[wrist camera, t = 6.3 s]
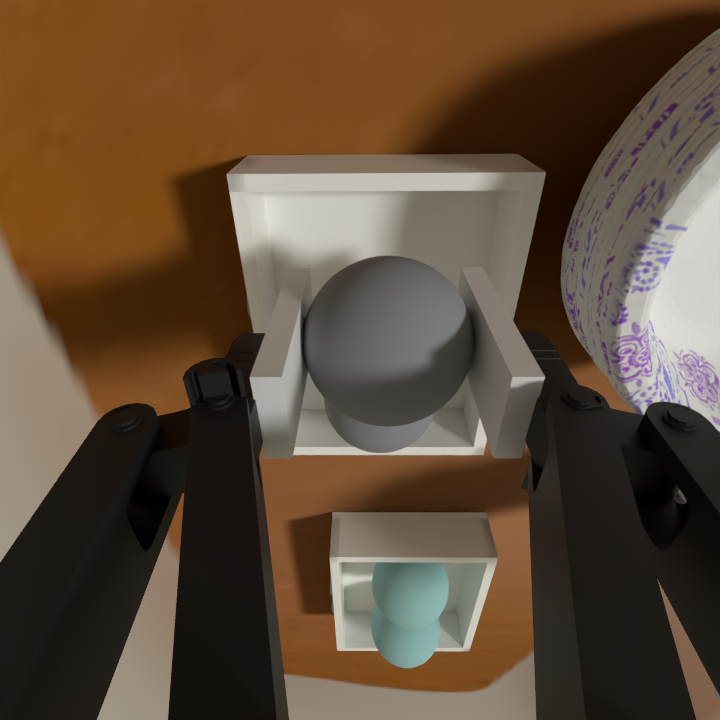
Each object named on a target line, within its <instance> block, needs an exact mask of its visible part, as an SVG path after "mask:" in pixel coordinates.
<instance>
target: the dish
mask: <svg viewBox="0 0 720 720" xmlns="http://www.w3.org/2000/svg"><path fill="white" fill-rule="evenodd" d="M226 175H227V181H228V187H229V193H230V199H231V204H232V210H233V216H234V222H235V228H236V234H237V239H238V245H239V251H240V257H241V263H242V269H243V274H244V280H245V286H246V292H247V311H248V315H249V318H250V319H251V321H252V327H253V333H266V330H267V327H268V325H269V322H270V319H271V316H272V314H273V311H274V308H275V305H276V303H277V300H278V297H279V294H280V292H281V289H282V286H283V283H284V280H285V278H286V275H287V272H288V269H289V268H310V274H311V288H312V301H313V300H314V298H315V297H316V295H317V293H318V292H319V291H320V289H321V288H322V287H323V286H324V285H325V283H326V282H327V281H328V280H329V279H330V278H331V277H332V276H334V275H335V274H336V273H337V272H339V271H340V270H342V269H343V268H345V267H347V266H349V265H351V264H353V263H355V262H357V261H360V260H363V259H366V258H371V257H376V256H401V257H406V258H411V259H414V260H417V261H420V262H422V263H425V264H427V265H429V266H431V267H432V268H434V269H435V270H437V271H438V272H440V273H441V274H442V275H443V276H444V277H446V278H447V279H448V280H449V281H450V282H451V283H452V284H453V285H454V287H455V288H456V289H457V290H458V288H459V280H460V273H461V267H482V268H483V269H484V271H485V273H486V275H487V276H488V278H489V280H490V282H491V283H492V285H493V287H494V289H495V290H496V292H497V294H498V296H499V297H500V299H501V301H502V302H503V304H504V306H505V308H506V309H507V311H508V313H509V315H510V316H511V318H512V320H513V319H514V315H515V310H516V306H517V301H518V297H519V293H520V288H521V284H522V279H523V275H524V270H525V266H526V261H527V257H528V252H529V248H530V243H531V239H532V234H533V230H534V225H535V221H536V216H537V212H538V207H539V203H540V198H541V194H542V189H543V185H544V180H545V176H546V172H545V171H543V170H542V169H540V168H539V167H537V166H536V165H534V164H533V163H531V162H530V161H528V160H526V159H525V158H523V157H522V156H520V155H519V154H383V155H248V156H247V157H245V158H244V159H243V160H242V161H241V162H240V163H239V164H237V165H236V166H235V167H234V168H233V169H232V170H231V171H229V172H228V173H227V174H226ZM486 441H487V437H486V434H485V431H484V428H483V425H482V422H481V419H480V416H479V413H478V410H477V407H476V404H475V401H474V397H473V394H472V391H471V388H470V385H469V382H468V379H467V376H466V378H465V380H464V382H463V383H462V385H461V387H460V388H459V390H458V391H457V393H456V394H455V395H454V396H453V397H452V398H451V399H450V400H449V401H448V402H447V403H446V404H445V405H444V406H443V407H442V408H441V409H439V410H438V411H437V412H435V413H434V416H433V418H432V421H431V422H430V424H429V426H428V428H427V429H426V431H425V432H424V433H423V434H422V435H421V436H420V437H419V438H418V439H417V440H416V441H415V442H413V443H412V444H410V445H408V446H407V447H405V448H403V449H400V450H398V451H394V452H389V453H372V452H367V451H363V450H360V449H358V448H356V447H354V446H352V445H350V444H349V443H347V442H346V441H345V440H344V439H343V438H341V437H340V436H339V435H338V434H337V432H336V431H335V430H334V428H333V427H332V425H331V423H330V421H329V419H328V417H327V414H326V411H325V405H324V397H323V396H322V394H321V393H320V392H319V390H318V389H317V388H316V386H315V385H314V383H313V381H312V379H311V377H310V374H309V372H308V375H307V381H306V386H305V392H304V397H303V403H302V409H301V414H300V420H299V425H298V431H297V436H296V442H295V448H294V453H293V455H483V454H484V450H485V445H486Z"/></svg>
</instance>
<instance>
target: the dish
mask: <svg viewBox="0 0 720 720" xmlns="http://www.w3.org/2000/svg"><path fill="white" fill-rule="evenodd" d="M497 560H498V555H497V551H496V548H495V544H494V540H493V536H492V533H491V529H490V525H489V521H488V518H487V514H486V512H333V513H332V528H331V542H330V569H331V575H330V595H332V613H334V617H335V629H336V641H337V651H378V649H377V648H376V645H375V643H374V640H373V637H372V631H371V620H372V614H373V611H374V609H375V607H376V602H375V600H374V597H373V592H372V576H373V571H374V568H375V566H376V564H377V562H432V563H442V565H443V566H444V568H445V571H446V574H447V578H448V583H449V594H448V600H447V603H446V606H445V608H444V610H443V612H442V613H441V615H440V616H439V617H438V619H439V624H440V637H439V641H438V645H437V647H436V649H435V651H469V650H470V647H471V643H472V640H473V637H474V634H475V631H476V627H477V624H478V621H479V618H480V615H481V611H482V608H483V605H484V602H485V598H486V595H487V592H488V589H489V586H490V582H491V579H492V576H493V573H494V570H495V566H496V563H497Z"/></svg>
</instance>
